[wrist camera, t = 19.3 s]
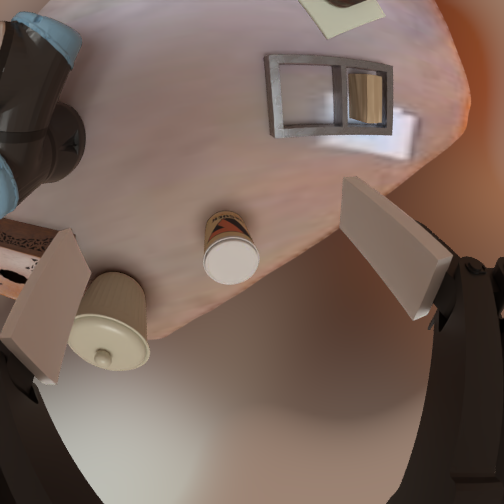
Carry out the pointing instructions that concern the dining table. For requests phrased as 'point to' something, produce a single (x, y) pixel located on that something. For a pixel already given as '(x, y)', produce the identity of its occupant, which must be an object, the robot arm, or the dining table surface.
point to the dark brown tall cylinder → (345, 3)
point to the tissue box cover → (20, 253)
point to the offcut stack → (365, 98)
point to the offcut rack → (338, 95)
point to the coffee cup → (229, 249)
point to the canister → (111, 324)
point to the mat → (341, 15)
